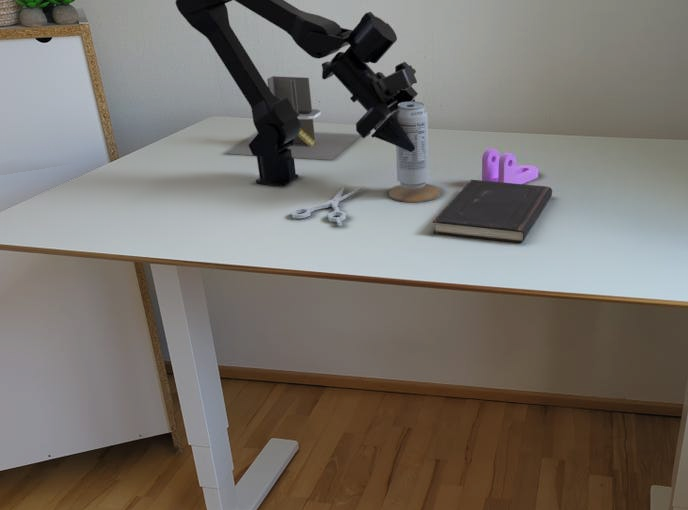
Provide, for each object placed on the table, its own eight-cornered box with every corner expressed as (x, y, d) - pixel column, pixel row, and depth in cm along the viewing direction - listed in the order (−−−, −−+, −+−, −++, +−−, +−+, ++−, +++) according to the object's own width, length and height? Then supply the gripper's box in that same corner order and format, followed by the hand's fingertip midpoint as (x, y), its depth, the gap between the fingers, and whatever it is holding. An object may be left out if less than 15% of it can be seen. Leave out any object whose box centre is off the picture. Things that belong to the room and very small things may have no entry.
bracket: (503, 191, 155) (504, 156, 151) (481, 185, 158) (482, 150, 154) (543, 175, 163) (545, 141, 160) (521, 169, 166) (523, 136, 163)
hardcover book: (433, 233, 136) (432, 220, 135) (471, 190, 155) (471, 179, 154) (523, 243, 132) (524, 230, 131) (551, 198, 151) (552, 186, 150)
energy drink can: (431, 179, 156) (429, 101, 148) (426, 189, 150) (424, 109, 143) (400, 178, 156) (397, 100, 148) (394, 188, 151) (391, 108, 143)
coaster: (380, 198, 152) (380, 196, 151) (401, 182, 160) (401, 180, 159) (428, 204, 149) (428, 202, 148) (448, 188, 157) (448, 186, 156)
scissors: (284, 217, 141) (330, 181, 158) (285, 221, 142) (330, 184, 158) (340, 222, 139) (380, 185, 155) (340, 226, 139) (380, 189, 156)
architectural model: (331, 159, 173) (325, 90, 166) (225, 153, 178) (214, 86, 170) (360, 135, 190) (355, 71, 182) (262, 130, 194) (254, 67, 187)
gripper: (368, 59, 134) (431, 130, 137) (406, 41, 149) (462, 105, 152) (329, 103, 140) (390, 170, 143) (369, 81, 155) (424, 142, 158)
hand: (418, 145), depth 149 cm, fingers closed on energy drink can, 6 cm apart
